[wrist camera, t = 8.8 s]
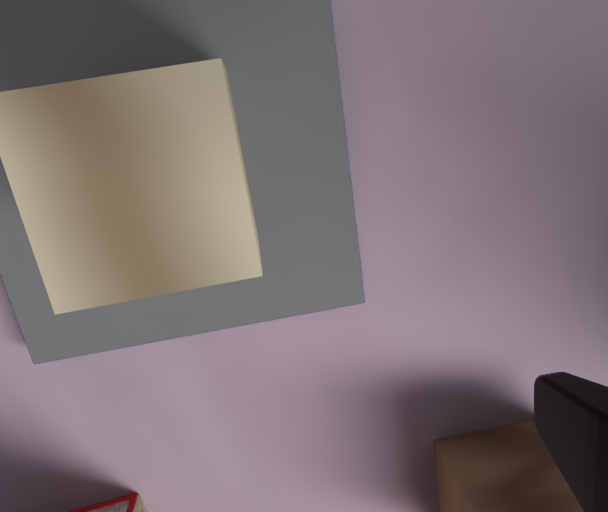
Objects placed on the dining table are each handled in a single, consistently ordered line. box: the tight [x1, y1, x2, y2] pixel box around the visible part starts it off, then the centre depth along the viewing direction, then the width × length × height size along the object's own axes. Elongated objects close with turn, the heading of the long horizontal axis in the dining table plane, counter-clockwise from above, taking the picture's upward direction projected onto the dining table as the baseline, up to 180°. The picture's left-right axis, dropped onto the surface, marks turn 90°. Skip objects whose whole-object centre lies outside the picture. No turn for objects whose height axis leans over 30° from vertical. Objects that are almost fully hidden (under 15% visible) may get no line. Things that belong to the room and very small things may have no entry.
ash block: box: [0, 58, 263, 315], centre depth 13 cm, size 5×5×5 cm
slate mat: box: [0, 0, 365, 364], centre depth 16 cm, size 12×12×1 cm
